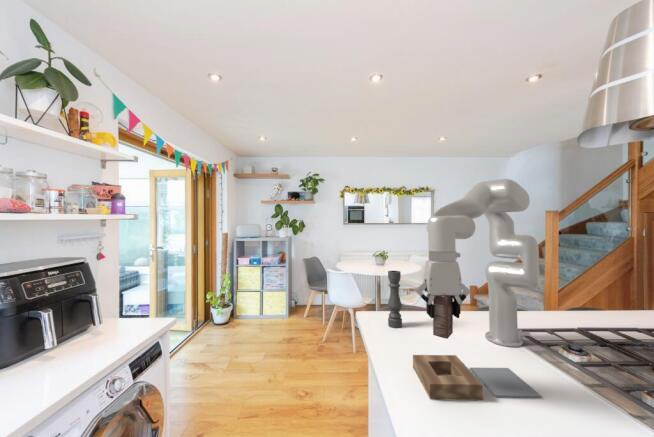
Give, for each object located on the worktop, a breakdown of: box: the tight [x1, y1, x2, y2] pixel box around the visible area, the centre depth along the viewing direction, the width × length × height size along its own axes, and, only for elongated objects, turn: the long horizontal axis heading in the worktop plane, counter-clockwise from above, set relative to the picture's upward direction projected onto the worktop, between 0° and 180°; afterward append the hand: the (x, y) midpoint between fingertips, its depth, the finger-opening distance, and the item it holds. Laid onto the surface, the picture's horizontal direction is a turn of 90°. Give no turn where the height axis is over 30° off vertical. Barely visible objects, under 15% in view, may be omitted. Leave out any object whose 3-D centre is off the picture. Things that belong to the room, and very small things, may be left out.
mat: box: [469, 367, 543, 399], centre depth 79 cm, size 12×14×1 cm
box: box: [432, 296, 454, 339], centre depth 80 cm, size 6×4×12 cm
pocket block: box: [412, 354, 484, 401], centre depth 79 cm, size 14×16×4 cm
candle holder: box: [387, 270, 403, 329], centre depth 124 cm, size 6×6×25 cm
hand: (443, 316), depth 80 cm, fingers closed on box, 6 cm apart
